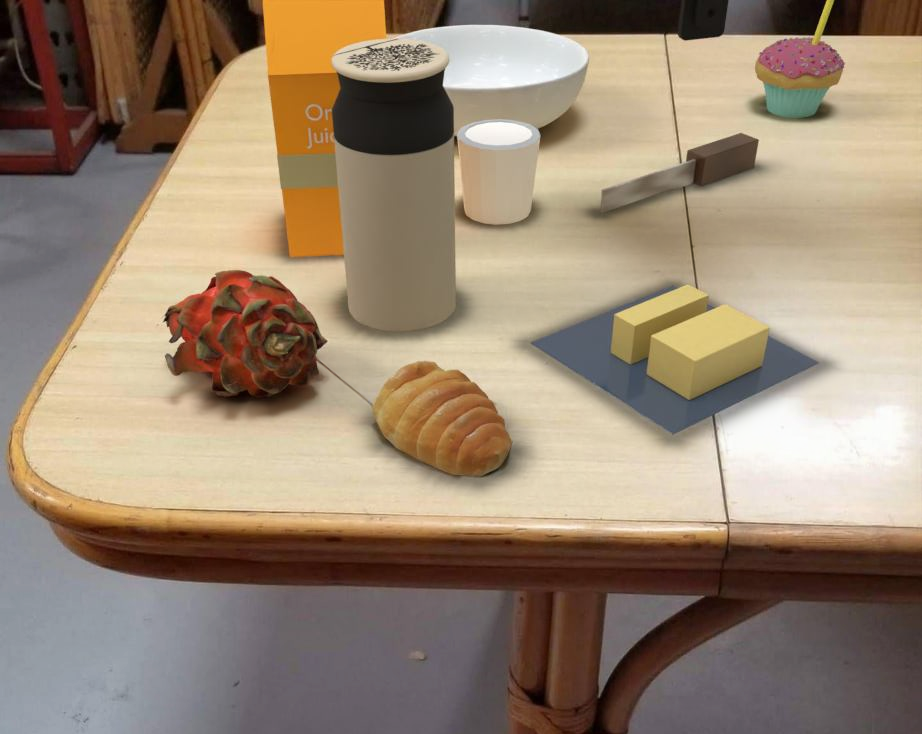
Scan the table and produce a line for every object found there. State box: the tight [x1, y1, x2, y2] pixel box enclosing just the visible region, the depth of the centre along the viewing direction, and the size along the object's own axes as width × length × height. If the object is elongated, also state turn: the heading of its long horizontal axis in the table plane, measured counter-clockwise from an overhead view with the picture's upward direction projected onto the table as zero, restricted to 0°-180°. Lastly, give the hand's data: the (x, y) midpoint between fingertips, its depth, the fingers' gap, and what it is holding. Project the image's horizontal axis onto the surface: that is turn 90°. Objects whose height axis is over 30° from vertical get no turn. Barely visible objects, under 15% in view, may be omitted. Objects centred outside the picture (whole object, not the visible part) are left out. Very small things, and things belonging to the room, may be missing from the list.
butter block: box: [647, 303, 771, 400], centre depth 71 cm, size 7×4×3 cm, turn 127°
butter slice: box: [611, 284, 710, 365], centre depth 74 cm, size 7×2×3 cm, turn 127°
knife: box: [599, 132, 760, 214], centre depth 94 cm, size 18×2×3 cm, turn 127°
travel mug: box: [331, 38, 457, 332], centre depth 74 cm, size 8×8×18 cm
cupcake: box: [754, 0, 846, 119], centre depth 106 cm, size 9×8×12 cm
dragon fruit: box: [156, 269, 328, 398], centre depth 70 cm, size 8×8×12 cm
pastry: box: [372, 360, 513, 478], centre depth 66 cm, size 9×7×4 cm
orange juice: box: [262, 0, 387, 258], centre depth 82 cm, size 8×9×20 cm
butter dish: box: [529, 284, 820, 436], centre depth 74 cm, size 14×14×1 cm
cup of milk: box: [456, 119, 541, 226], centre depth 90 cm, size 7×7×7 cm
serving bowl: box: [393, 24, 590, 137], centre depth 106 cm, size 21×21×7 cm
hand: (668, 17), depth 75 cm, fingers open, 9 cm apart
